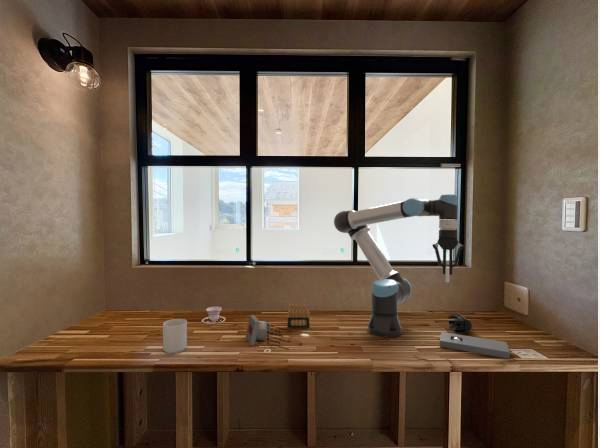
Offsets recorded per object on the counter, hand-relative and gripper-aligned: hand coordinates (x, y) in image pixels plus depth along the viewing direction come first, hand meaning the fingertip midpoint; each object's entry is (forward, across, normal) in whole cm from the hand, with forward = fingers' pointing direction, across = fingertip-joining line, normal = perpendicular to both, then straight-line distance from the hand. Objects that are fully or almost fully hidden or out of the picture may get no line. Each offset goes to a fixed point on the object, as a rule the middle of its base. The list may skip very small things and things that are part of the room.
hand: (447, 281), depth 139 cm
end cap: (+25, +5, +11) cm, 28 cm away
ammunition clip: (+25, -64, -22) cm, 72 cm away
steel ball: (+23, +4, -9) cm, 25 cm away
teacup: (+25, -107, -34) cm, 115 cm away
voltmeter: (+25, -65, -47) cm, 84 cm away
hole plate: (+24, +10, -9) cm, 28 cm away
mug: (+25, -96, -67) cm, 120 cm away
